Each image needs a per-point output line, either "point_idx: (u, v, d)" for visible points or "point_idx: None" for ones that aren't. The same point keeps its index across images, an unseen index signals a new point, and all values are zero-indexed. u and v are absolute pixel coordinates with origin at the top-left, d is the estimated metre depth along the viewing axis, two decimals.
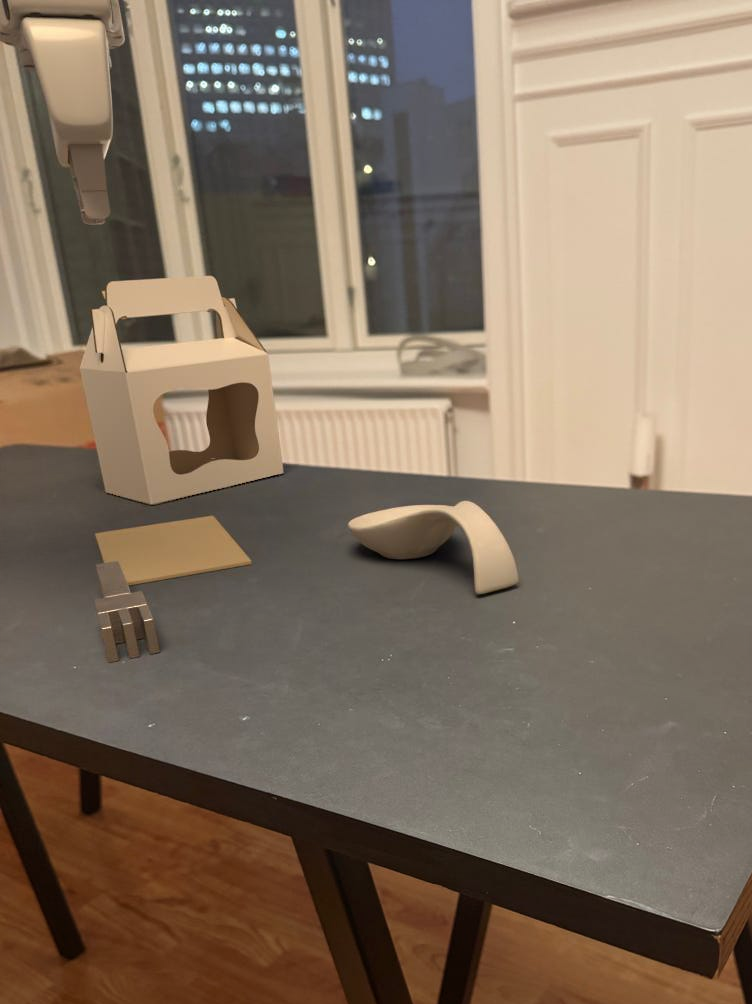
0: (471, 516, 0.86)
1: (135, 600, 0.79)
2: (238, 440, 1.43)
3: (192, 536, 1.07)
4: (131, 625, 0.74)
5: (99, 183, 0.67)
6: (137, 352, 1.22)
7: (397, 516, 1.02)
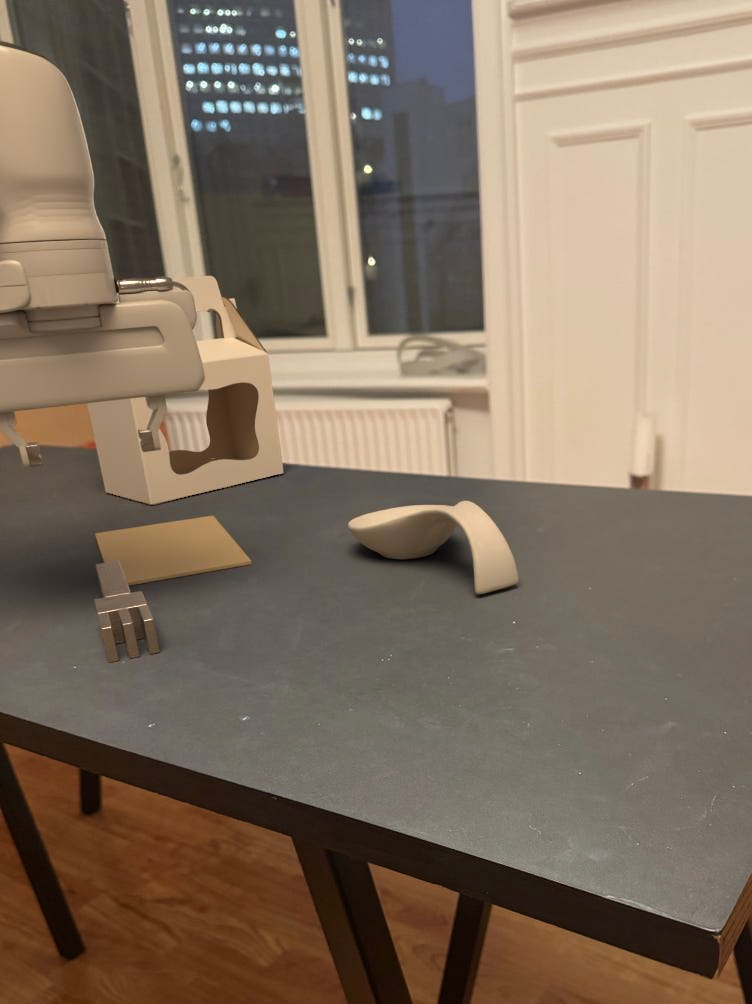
0: (471, 515, 0.86)
1: (135, 600, 0.79)
2: (238, 440, 1.43)
3: (192, 536, 1.07)
4: (131, 625, 0.74)
5: None
6: None
7: (397, 516, 1.02)
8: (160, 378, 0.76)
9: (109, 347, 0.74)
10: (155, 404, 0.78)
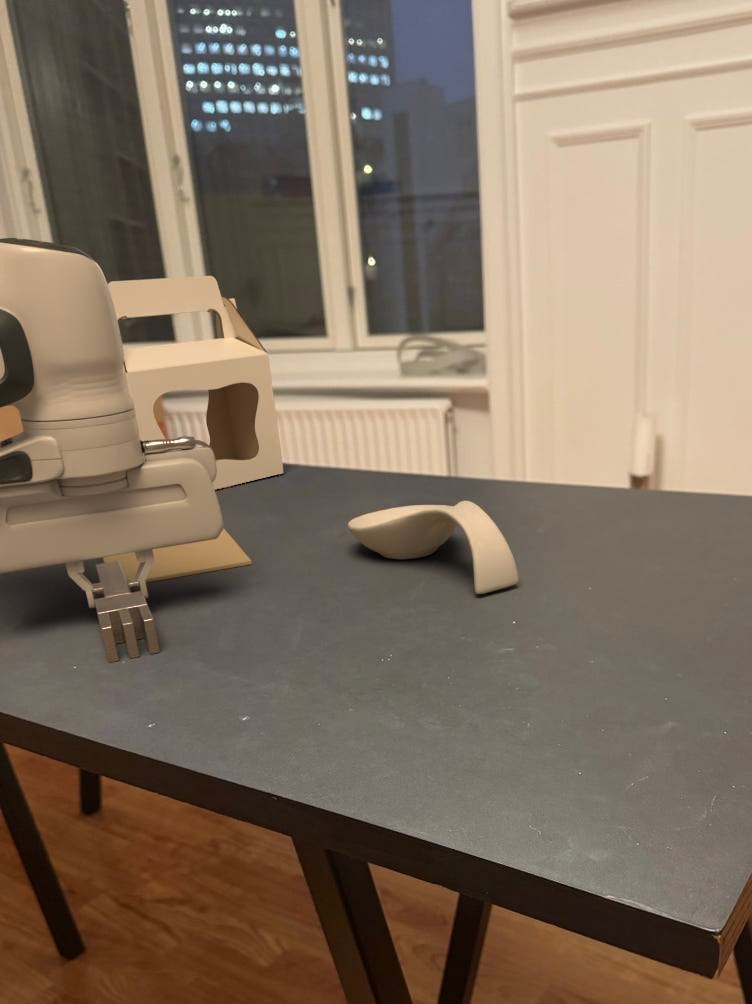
0: (471, 515, 0.86)
1: (135, 600, 0.79)
2: (238, 440, 1.43)
3: None
4: (131, 625, 0.74)
5: None
6: (137, 352, 1.22)
7: (397, 516, 1.02)
8: (182, 530, 0.81)
9: (135, 504, 0.79)
10: (143, 557, 0.81)
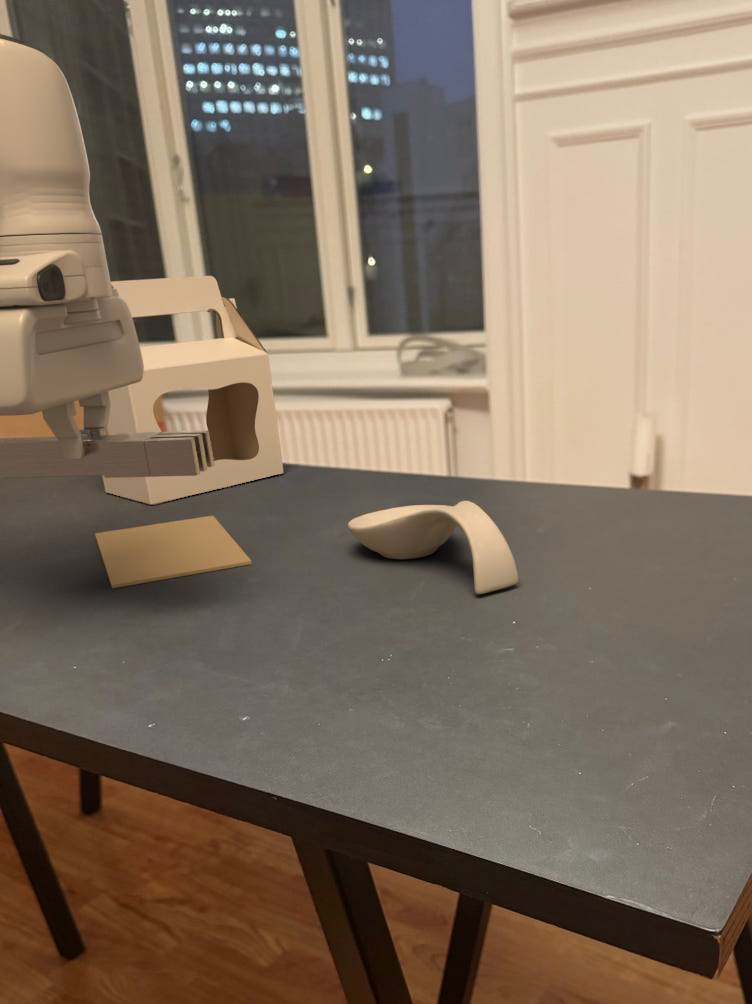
0: (471, 515, 0.86)
1: (143, 433, 0.78)
2: (238, 440, 1.43)
3: (192, 536, 1.07)
4: (201, 436, 0.76)
5: (69, 432, 0.74)
6: None
7: (397, 516, 1.02)
8: (127, 369, 0.81)
9: (99, 340, 0.77)
10: (104, 400, 0.78)
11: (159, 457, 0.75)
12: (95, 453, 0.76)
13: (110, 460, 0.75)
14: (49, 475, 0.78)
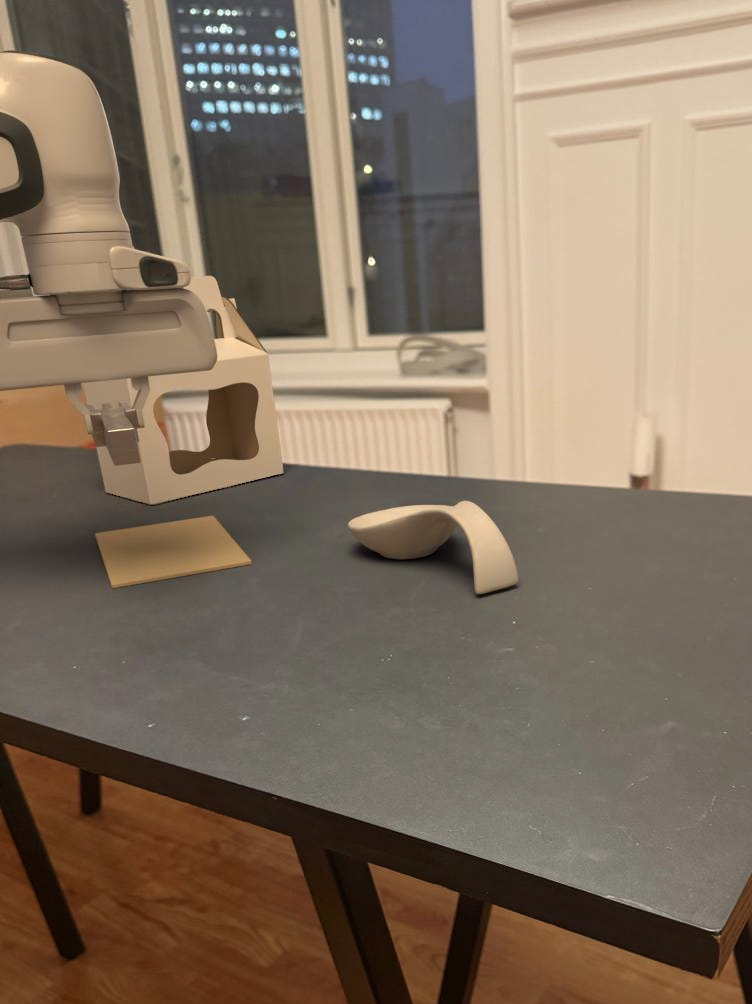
0: (471, 515, 0.86)
1: (96, 411, 0.89)
2: (238, 440, 1.43)
3: (192, 536, 1.07)
4: (103, 405, 0.94)
5: None
6: None
7: (397, 516, 1.02)
8: None
9: None
10: None
11: None
12: None
13: None
14: None
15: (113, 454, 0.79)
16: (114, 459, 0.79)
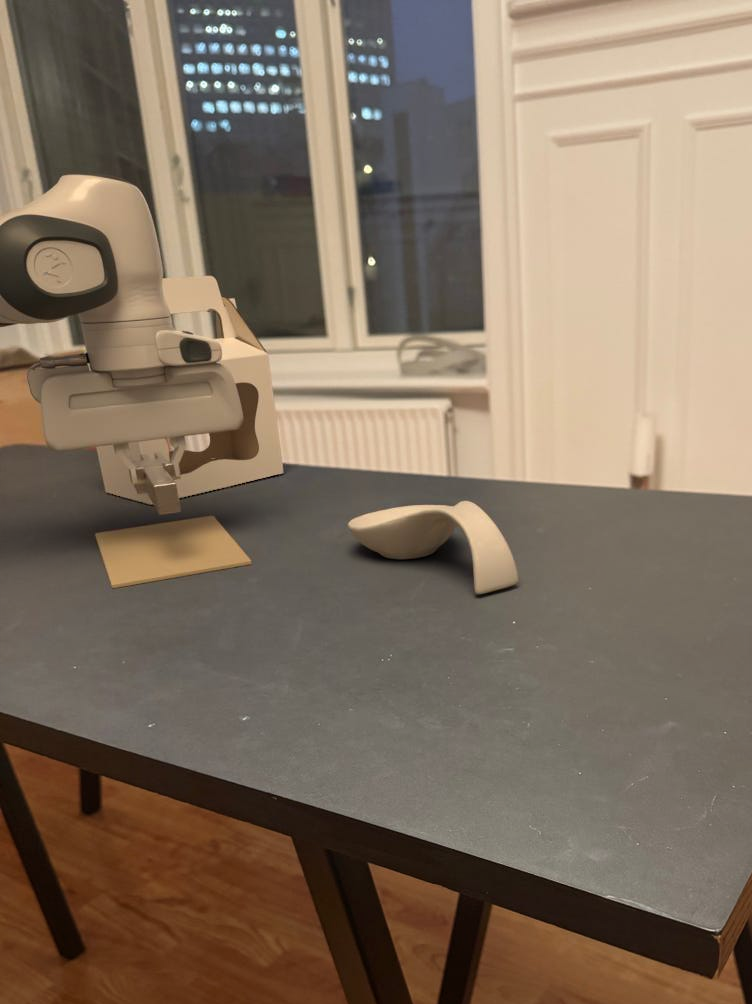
0: (471, 516, 0.86)
1: (138, 463, 1.04)
2: (238, 440, 1.43)
3: (192, 536, 1.07)
4: None
5: None
6: None
7: (397, 516, 1.02)
8: None
9: None
10: None
11: None
12: None
13: None
14: None
15: (158, 505, 0.93)
16: (159, 509, 0.93)
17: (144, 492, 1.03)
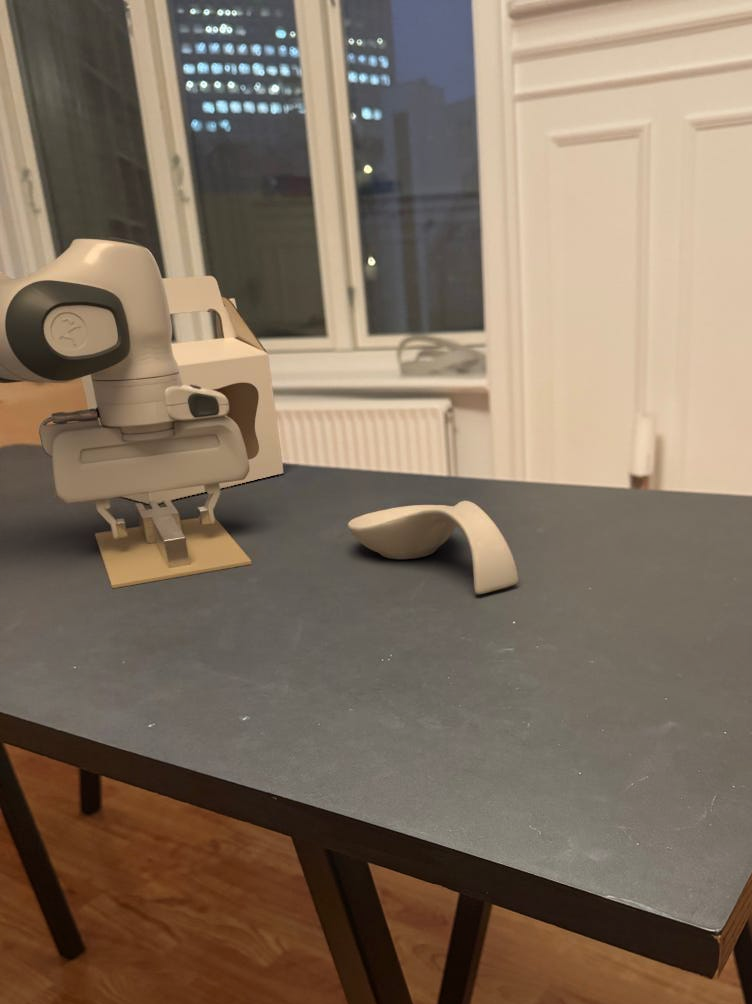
0: (471, 516, 0.86)
1: (147, 512, 1.06)
2: None
3: (192, 536, 1.07)
4: None
5: None
6: None
7: (397, 516, 1.02)
8: None
9: None
10: None
11: None
12: None
13: None
14: None
15: (168, 558, 0.95)
16: (168, 562, 0.95)
17: (153, 541, 1.05)
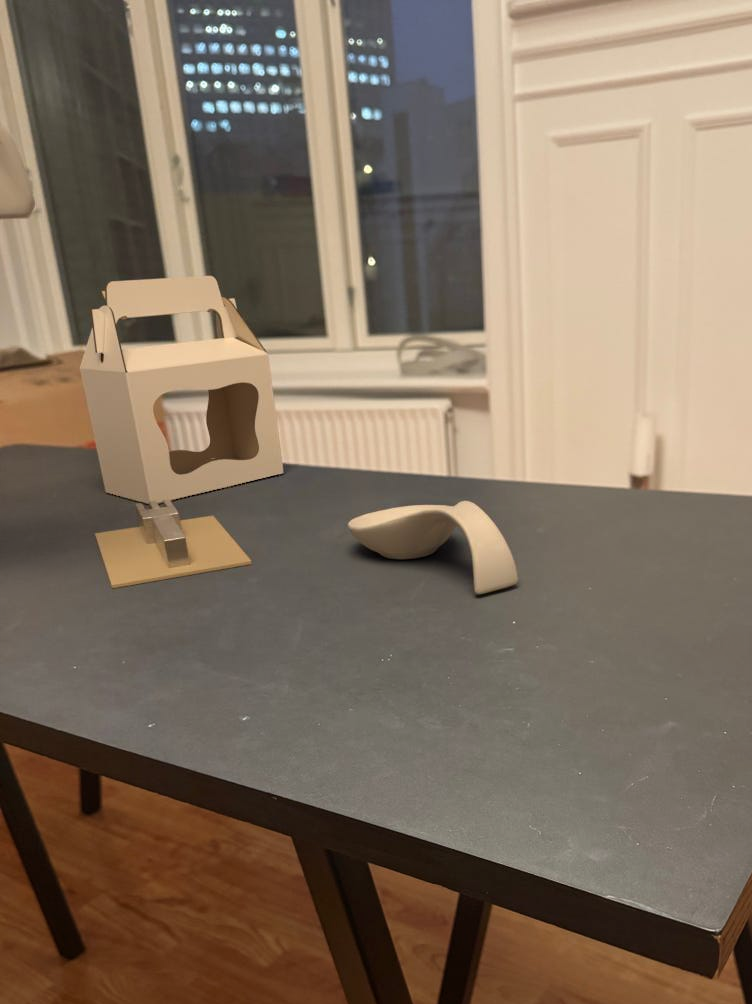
0: (471, 516, 0.86)
1: (147, 512, 1.06)
2: (238, 440, 1.43)
3: (192, 536, 1.07)
4: None
5: None
6: (137, 352, 1.22)
7: (397, 516, 1.02)
8: None
9: None
10: None
11: None
12: None
13: None
14: None
15: (168, 558, 0.95)
16: (168, 562, 0.95)
17: (153, 541, 1.05)
